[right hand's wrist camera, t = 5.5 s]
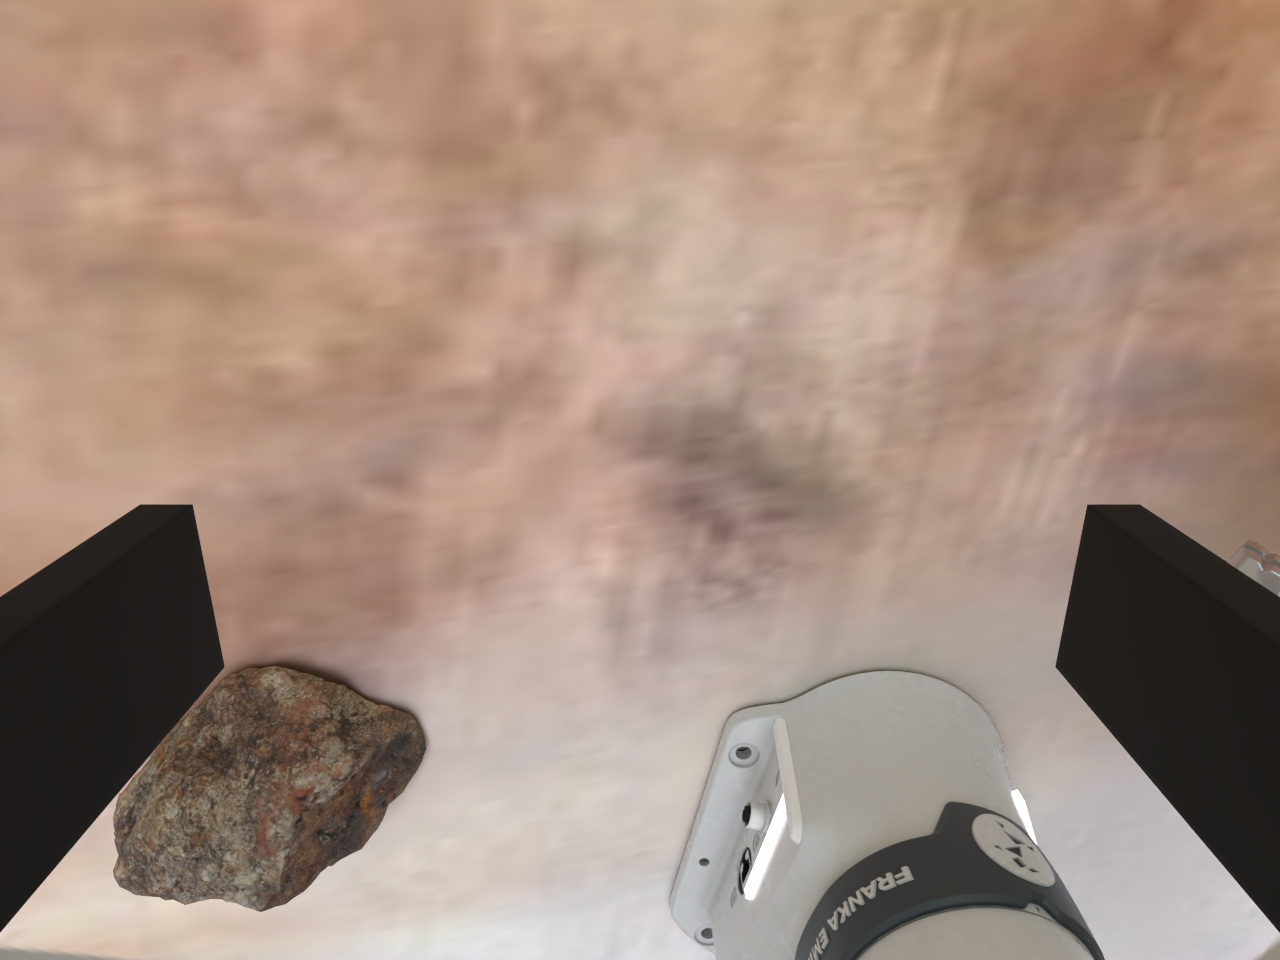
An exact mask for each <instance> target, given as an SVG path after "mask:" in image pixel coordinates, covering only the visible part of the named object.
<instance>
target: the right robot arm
mask: <svg viewBox="0 0 1280 960" xmlns="http://www.w3.org/2000/svg"><path fill="white" fill-rule="evenodd" d="M223 668H224V662H223V657H222V652H221V647H220V642H219V636H218V631H217V626H216V621H215V616H214V611H213V606H212V601H211V596H210V591H209V586H208V581H207V576H206V571H205V566H204V560H203V555H202V550H201V545H200V540H199V535H198V530H197V525H196V520H195V515H194V510H193V505H139V506H137V507H136V508H134V509H133V510H131V511H130V512H128V513H127V514H125V515H124V516H122V517H121V518H119V519H118V520H116V521H115V522H113V523H112V524H110V525H109V526H107V527H106V528H104V529H103V530H101V531H100V532H98V533H97V534H95V535H94V536H92V537H90V538H89V539H87V540H86V541H84V542H83V543H81V544H80V545H78V546H77V547H75V548H74V549H72V550H71V551H69V552H68V553H66V554H65V555H63V556H62V557H60V558H59V559H57V560H56V561H54V562H53V563H51V564H50V565H48V566H47V567H45V568H44V569H42V570H40V571H39V572H37V573H36V574H34V575H33V576H31V577H30V578H28V579H27V580H25V581H24V582H22V583H21V584H19V585H18V586H16V587H15V588H13V589H12V590H10V591H9V592H7V593H6V594H4V595H3V596H1V597H0V932H1V931H2V930H3V929H4V927H5V926H6V925H7V924H8V923H9V921H10V920H11V919H12V918H13V917H14V916H15V914H16V913H17V912H18V911H19V910H20V908H21V907H22V906H23V905H24V904H25V903H26V901H27V900H28V899H29V898H30V897H31V895H32V894H33V893H34V892H35V891H36V890H37V888H38V887H39V886H40V885H41V884H42V882H43V881H44V880H45V879H46V878H47V876H48V875H49V874H50V873H51V872H52V871H53V869H54V868H55V867H56V866H57V865H58V863H59V862H60V861H61V860H62V859H63V858H64V856H65V855H66V854H67V853H68V852H69V850H70V849H71V848H72V847H73V846H74V845H75V843H76V842H77V841H78V840H79V839H80V837H81V836H82V835H83V834H84V833H85V831H86V830H87V829H88V828H89V827H90V826H91V824H92V823H93V822H94V821H95V820H96V818H97V817H98V816H99V815H100V814H101V813H102V811H103V810H104V809H105V808H106V807H107V805H108V804H109V803H110V802H111V801H112V800H113V798H114V797H115V796H116V795H117V794H118V792H119V791H120V790H121V789H122V788H123V786H124V785H125V784H126V783H127V782H128V781H129V779H130V778H131V777H132V776H133V775H134V773H135V772H136V771H137V770H138V769H139V768H140V766H141V765H142V764H143V763H144V762H145V760H146V759H147V758H148V757H149V756H150V755H151V753H152V752H153V751H154V750H155V749H156V747H157V746H158V745H159V744H160V743H161V741H162V740H163V739H164V738H165V737H166V736H167V734H168V733H169V732H170V731H171V730H172V728H173V727H174V726H175V725H176V724H177V723H178V721H179V720H180V719H181V718H182V717H183V715H184V714H185V713H186V712H187V711H188V710H189V708H190V707H191V706H192V705H193V704H194V702H195V701H196V700H197V699H198V698H199V696H200V695H201V694H202V693H203V692H204V691H205V689H206V688H207V687H208V686H209V685H210V683H211V682H212V681H213V680H214V679H215V678H216V676H217V675H218V674H219V673H220V672H221V670H222V669H223ZM1056 668H1057V669H1058V670H1059V672H1060V673H1061V674H1062V675H1063V676H1064V678H1065V679H1066V680H1067V681H1068V682H1069V683H1070V685H1071V686H1072V687H1073V688H1074V689H1075V691H1076V692H1077V693H1078V694H1079V695H1080V696H1081V698H1082V699H1083V700H1084V701H1085V702H1086V704H1087V705H1088V706H1089V707H1090V708H1091V710H1092V711H1093V712H1094V713H1095V714H1096V715H1097V717H1098V718H1099V719H1100V720H1101V721H1102V723H1103V724H1104V725H1105V726H1106V727H1107V728H1108V730H1109V731H1110V732H1111V733H1112V734H1113V736H1114V737H1115V738H1116V739H1117V740H1118V741H1119V743H1120V744H1121V745H1122V746H1123V747H1124V749H1125V750H1126V751H1127V752H1128V753H1129V755H1130V756H1131V757H1132V758H1133V759H1134V760H1135V762H1136V763H1137V764H1138V765H1139V766H1140V768H1141V769H1142V770H1143V771H1144V772H1145V773H1146V775H1147V776H1148V777H1149V778H1150V779H1151V781H1152V782H1153V783H1154V784H1155V785H1156V786H1157V788H1158V789H1159V790H1160V791H1161V792H1162V794H1163V795H1164V796H1165V797H1166V798H1167V800H1168V801H1169V802H1170V803H1171V804H1172V805H1173V807H1174V808H1175V809H1176V810H1177V811H1178V813H1179V814H1180V815H1181V816H1182V817H1183V818H1184V820H1185V821H1186V822H1187V823H1188V824H1189V826H1190V827H1191V828H1192V829H1193V830H1194V831H1195V833H1196V834H1197V835H1198V836H1199V837H1200V839H1201V840H1202V841H1203V842H1204V843H1205V845H1206V846H1207V847H1208V848H1209V849H1210V850H1211V852H1212V853H1213V854H1214V855H1215V856H1216V858H1217V859H1218V860H1219V861H1220V862H1221V863H1222V865H1223V866H1224V867H1225V868H1226V869H1227V871H1228V872H1229V873H1230V874H1231V875H1232V876H1233V878H1234V879H1235V880H1236V881H1237V882H1238V884H1239V885H1240V886H1241V887H1242V888H1243V890H1244V891H1245V892H1246V893H1247V894H1248V895H1249V897H1250V898H1251V899H1252V900H1253V901H1254V903H1255V904H1256V905H1257V906H1258V907H1259V908H1260V910H1261V911H1262V912H1263V913H1264V914H1265V916H1266V917H1267V918H1268V919H1269V920H1270V921H1271V923H1272V924H1273V925H1274V926H1275V927H1276V929H1277V930H1278V931H1279V932H1280V597H1279V596H1277V595H1276V594H1274V593H1273V592H1271V591H1270V590H1268V589H1267V588H1265V587H1264V586H1262V585H1261V584H1259V583H1258V582H1256V581H1255V580H1253V579H1252V578H1250V577H1249V576H1247V575H1246V574H1244V573H1243V572H1241V571H1240V570H1238V569H1236V568H1235V567H1233V566H1232V565H1230V564H1229V563H1227V562H1226V561H1224V560H1223V559H1221V558H1220V557H1218V556H1217V555H1215V554H1214V553H1212V552H1211V551H1209V550H1208V549H1206V548H1205V547H1203V546H1202V545H1200V544H1199V543H1197V542H1196V541H1194V540H1193V539H1191V538H1190V537H1188V536H1186V535H1185V534H1183V533H1182V532H1180V531H1179V530H1177V529H1176V528H1174V527H1173V526H1171V525H1170V524H1168V523H1167V522H1165V521H1164V520H1162V519H1161V518H1159V517H1158V516H1156V515H1155V514H1153V513H1152V512H1150V511H1149V510H1147V509H1146V508H1144V507H1143V506H1141V505H1087V510H1086V515H1085V520H1084V525H1083V530H1082V535H1081V540H1080V545H1079V550H1078V555H1077V560H1076V565H1075V571H1074V576H1073V581H1072V586H1071V591H1070V596H1069V601H1068V606H1067V611H1066V616H1065V621H1064V626H1063V631H1062V636H1061V642H1060V647H1059V652H1058V657H1057V662H1056Z"/></svg>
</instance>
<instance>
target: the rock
mask: <svg viewBox="0 0 1280 960" xmlns="http://www.w3.org/2000/svg"><path fill="white" fill-rule="evenodd" d="M425 750H426V746H425V742H424V738H423V735H422V732H421V730H420V729H419V726H418V723H417V721H416V720H415V719H414V718H413V717H412V715H410V714H407V713H405V712H402V711H399V710H397V709H394V708H391V707H389V706H387V705H383V704H381V705H377V704H375V703H374V702H372V701H368V700H366V699H365V698H363V697H361V696H360V695H358V694H357V693H355V692H354V691H352V690H349V689H347V687H346V685H337V684H336V683H332V682H327V681H324V680H323V679H322V678H320V677H317V676H314V675H312V674H308V673H301V672H299V671H297V670H292V669H287V668H282V667H278V666H271V667H264V668H248V669H244V670H242V671H240V672H235V673H232V674H231V675H229V676H228V677H226V678H224V679H222V680H221V682H220V683H219V684H218V685H216V686H215V687H214V688H213V690H212V691H211V693H210V694H209V695H208V696H207V697H206V698H205V700H204V702H203V703H202V704H201V705H199V706H198V707H197V708H195V709H194V710H192V711H190V712H189V713H188V714H187V715H186V716H185V717H184V718H183V719H181V720H180V721H179V722H178V723H177V724H176V725H175V726H174V727H173V728H172V730H171V731H170V732H169V733H168V734H167V736H166V737H165V738H164V739H163V740H162V741H161V743H160V744H159V745H158V746H157V747H156V749H155V751H154V752H153V754H152V755H151V757H150V760H149V761H148V762H147V764H146V765H145V766H144V767H143V768H142V770H141V771H140V772H139V773H137V774H136V775H135V776H134V777H133V779H132V780H131V782H130V783H129V785H128V786H127V787H126V789H125V790H124V791H123V792H122V793H121V794H120V795H119V798H118V800H117V803H116V810H115V813H114V816H113V822H114V829H115V832H114V835H115V837H116V838H115V840H114V841H115V844H116V848H117V852H118V854H119V857H118V859H117V862H116V864H115V867H114V870H113V873H114V878H115V880H116V881H117V883H118V885H119V886H120V887H122V888H124V889H126V890H128V891H130V892H131V893H133V894H135V895H142V896H152V897H160V898H162V899H164V900H172V899H174V900H176V901H178V902H180V903H182V904H185V905H186V904H190V903H194V902H197V901H202V900H207V899H223V900H224V901H226V902H233V903H238V904H240V905H242V906H244V907H248V908H251V909H254V910H257V911H260V912H262V911H265V910H268V909H271V908H273V907H276V906H280V905H284V904H286V903H288V902H289V901H290V900H291V899H293V898H294V897H296V896H297V895H299V894H300V893H302V892H304V891H305V890H306V889H307V888H308V887H309V886H310V885H311V884H312V882H313V881H314V880H315V879H316V878H317V876H318V875H319V873H320V872H321V871H323V870H324V869H325V868H326V867H327V866H332V865H333V864H335V863H336V862H338V861H339V860H341V859H342V858H344V857H346V856H348V855H350V854H352V853H354V852H356V851H358V850H360V849H362V847H363V846H364V845H365V844H366V842H367V841H368V840H369V838H370V837H371V836H372V834H373V833H374V832H375V831H376V830H377V828H378V826H379V825H380V823H381V821H382V820H383V817H384V815H385V813H386V809H387V807H388V805H389V804H390V803H391V802H392V801H393V800H394V799H395V798H397V797H398V796H399V795H400V794H401V793H402V792H403V791H404V789H405V788H406V786H407V784H408V783H409V781H410V780H411V778H412V777H413V775H414V774H415V772H416V771H417V769H418V767H419V766H420V764H421V762H422V758H423V755H424V752H425Z"/></svg>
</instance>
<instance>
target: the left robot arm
mask: <svg viewBox="0 0 1280 960" xmlns="http://www.w3.org/2000/svg"><path fill="white" fill-rule="evenodd" d="M1227 563H1229V564H1230V565H1232V566H1233V567H1235V568H1236V569H1238V570H1240V571H1241V572H1243V573H1244V574H1246V575H1247V576H1249V577H1250V578H1252V579H1253V580H1255V581H1256V582H1258V583H1259V584H1261V585H1262V586H1264V587H1265V588H1267V589H1268V590H1270V591H1271V592H1273V593H1274V594H1276V595H1277V596H1279V597H1280V556H1278V555H1277V554H1267V552H1266V550H1265V548H1264V547H1263V546H1261V545H1259V544H1257V543H1255V542H1252V541H1246V542H1245V543H1244V544H1243V545H1242V546H1241V547H1240V548H1239V550H1238V551H1237V552H1236V553H1235V554H1234V555H1233V556H1232V557H1231V558H1229V560H1228V561H1227ZM740 747H748V749H747V750H745V751H739V750H737V749H738V748H740ZM669 904H670V910H671V916H672V918H673V920H674V921H675V922H676V924H677V925H678V926H679V927H680V928H681V929H682V930H683V931H684V932H685V933H686V934H687V935H688V936H689V937H690V938H691V939H693V940H694V941H695V942H696V943H698V944H699V945H701V946H702V947H704V948H705V949H707V950H709V951H710V952H712V953H714V954H716V959H717V960H1105V959H1104V956H1103V954H1102V952H1101V950H1100V948H1099V946H1098V944H1097V942H1096V941H1095V939H1094V937H1093V935H1092V933H1091V931H1090V929H1089V928H1088V926H1087V924H1086V922H1085V920H1084V918H1083V917H1082V915H1081V913H1080V911H1079V910H1078V908H1077V906H1076V904H1075V903H1074V901H1073V899H1072V897H1071V896H1070V894H1069V892H1068V891H1067V889H1066V887H1065V885H1064V884H1063V882H1062V880H1061V879H1060V877H1059V876H1058V874H1057V873H1056V871H1055V870H1054V868H1053V867H1052V865H1051V864H1050V863H1049V861H1048V860H1047V858H1046V857H1045V855H1044V854H1043V853H1042V851H1041V850H1040V849H1039V847H1038V846H1037V843H1036V840H1035V836H1034V832H1033V829H1032V825H1031V821H1030V818H1029V814H1028V811H1027V807H1026V803H1025V801H1024V799H1023V798H1022V796H1021V794H1020V793H1019V791H1018V790H1015V791H1013V789H1012V786H1011V783H1010V779H1009V776H1008V772H1007V768H1006V764H1005V759H1004V754H1003V749H1002V744H1001V741H1000V737H999V735H998V732H997V730H996V728H995V726H994V724H993V722H992V721H991V719H990V718H989V716H988V715H987V713H986V712H985V711H984V710H983V709H982V708H981V706H980V705H979V704H978V703H977V702H975V701H974V700H973V699H972V698H971V697H970V696H968V695H967V694H966V693H964V692H963V691H961V690H959V689H958V688H956V687H954V686H952V685H950V684H948V683H946V682H944V681H941V680H939V679H936V678H933V677H929V676H926V675H922V674H917V673H911V672H903V671H874V672H865V673H859V674H854V675H850V676H846V677H843V678H839V679H836V680H834V681H831V682H828V683H826V684H823V685H821V686H819V687H817V688H815V689H813V690H811V691H809V692H807V693H805V694H803V695H801V696H799V697H797V698H795V699H792V700H790V701H787V702H784V703H777V704H769V705H761V706H755V707H750V708H746V709H742V710H740V711H737V712H736V713H734V714H733V715H732V716H731V717H730V718H729V719H728V720H727V722H726V725H725V728H724V731H723V734H722V737H721V740H720V743H719V746H718V749H717V752H716V756H715V759H714V762H713V765H712V768H711V771H710V774H709V777H708V780H707V784H706V787H705V790H704V793H703V796H702V799H701V802H700V805H699V809H698V812H697V815H696V818H695V821H694V824H693V827H692V830H691V833H690V837H689V840H688V843H687V846H686V849H685V852H684V855H683V858H682V861H681V865H680V868H679V871H678V874H677V877H676V880H675V883H674V886H673V890H672V893H671V896H670V902H669ZM706 928H708V929H706Z"/></svg>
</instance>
